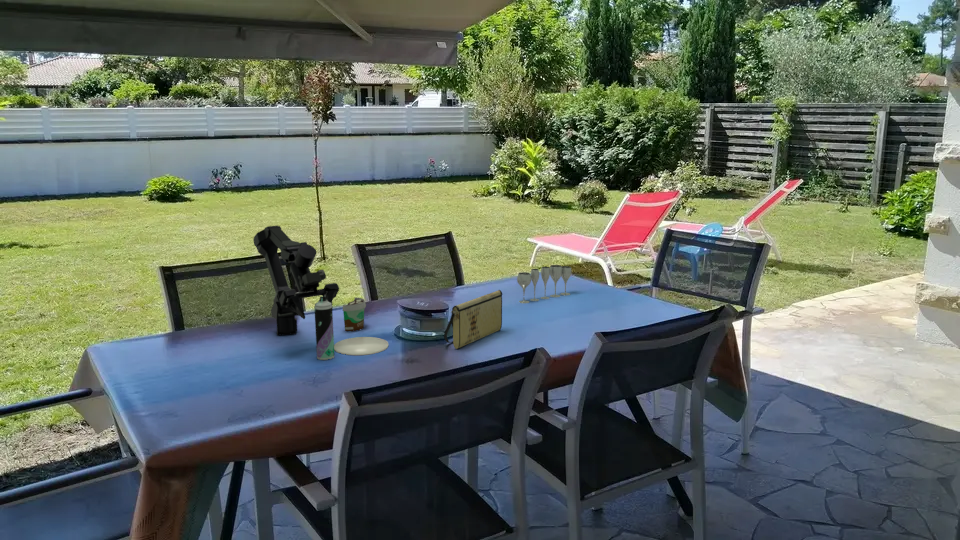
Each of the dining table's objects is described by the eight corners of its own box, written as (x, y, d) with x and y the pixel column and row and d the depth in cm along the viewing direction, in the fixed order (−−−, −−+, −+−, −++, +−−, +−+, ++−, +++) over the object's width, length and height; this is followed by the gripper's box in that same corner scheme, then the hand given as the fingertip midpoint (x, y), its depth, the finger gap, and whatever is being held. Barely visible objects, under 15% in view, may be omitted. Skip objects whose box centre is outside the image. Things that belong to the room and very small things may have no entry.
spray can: (318, 361, 229) (315, 299, 225) (315, 355, 234) (312, 295, 230) (336, 358, 231) (333, 297, 227) (332, 353, 236) (329, 293, 232)
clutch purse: (488, 327, 265) (488, 287, 262) (504, 330, 262) (505, 289, 258) (438, 348, 242) (437, 304, 238) (455, 352, 238) (455, 307, 235)
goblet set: (564, 292, 317) (565, 262, 314) (573, 294, 312) (574, 264, 310) (514, 301, 301) (514, 270, 298) (522, 304, 297) (523, 272, 294)
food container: (359, 333, 258) (358, 306, 256) (343, 332, 259) (342, 305, 257) (371, 324, 270) (370, 297, 267) (356, 323, 271) (355, 296, 269)
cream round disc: (335, 357, 232) (335, 355, 232) (332, 340, 249) (331, 339, 249) (391, 352, 237) (391, 351, 237) (384, 336, 254) (384, 335, 254)
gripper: (280, 265, 229) (296, 306, 222) (335, 258, 240) (351, 297, 233) (273, 285, 237) (288, 326, 230) (326, 278, 247) (342, 316, 241)
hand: (318, 316), depth 233 cm, fingers open, 9 cm apart
